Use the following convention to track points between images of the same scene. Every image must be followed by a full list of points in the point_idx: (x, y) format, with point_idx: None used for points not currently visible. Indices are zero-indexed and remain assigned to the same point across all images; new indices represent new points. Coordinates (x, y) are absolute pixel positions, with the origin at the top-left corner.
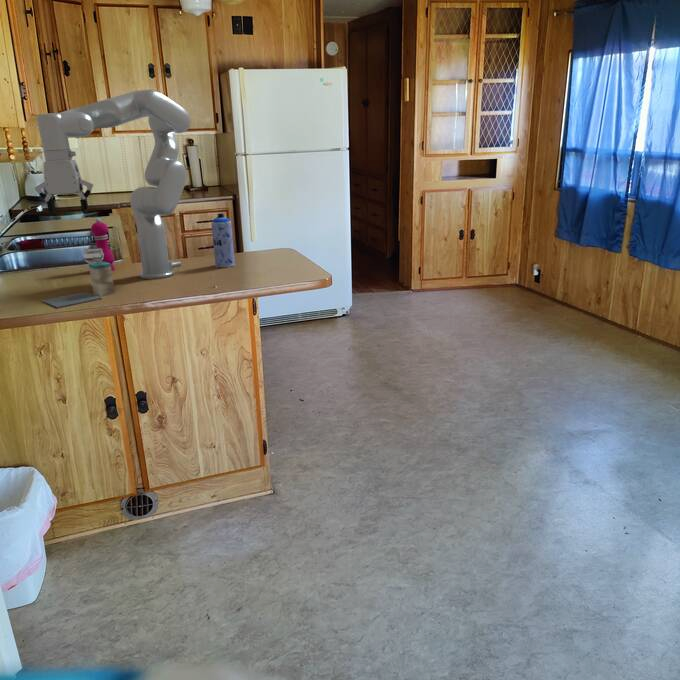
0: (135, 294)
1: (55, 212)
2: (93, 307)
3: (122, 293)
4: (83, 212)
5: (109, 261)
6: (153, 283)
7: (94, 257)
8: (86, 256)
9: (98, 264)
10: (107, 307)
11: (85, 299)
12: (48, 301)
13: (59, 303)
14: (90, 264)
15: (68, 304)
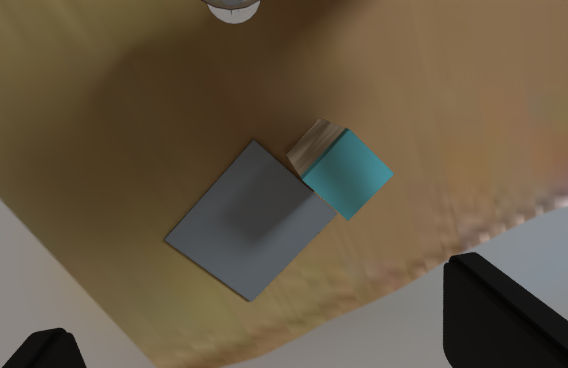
0: (418, 165)
1: (77, 359)
2: (345, 289)
3: (376, 151)
4: (450, 345)
5: None
6: (444, 14)
7: (254, 2)
8: (212, 3)
9: (348, 188)
10: (381, 289)
11: (296, 231)
12: (191, 250)
13: (238, 270)
14: (313, 186)
15: (270, 278)
